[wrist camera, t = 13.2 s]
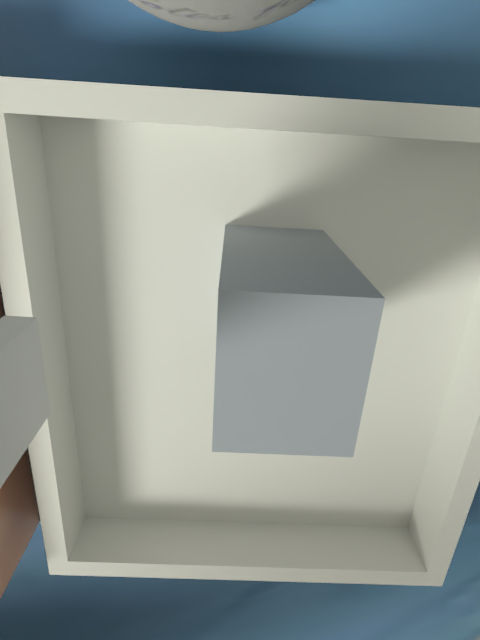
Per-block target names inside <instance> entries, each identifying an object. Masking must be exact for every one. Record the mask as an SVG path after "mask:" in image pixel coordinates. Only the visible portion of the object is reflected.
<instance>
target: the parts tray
mask: <svg viewBox="0 0 480 640" xmlns="http://www.w3.org/2000/svg"><path fill="white" fill-rule="evenodd" d="M225 225H241V226H259V227H277V228H295V229H313V230H324V232H325V233H326V234H327V235H328V236H329V237H330V238H331V239H332V240H333V242H334V243H335V244H336V245H337V246H338V247H339V248H340V249H341V250H342V251H343V253H344V254H345V255H346V256H347V257H348V258H349V259H350V260H351V261H352V262H353V264H354V265H355V266H356V267H357V268H358V269H359V270H360V271H361V272H362V273H363V275H364V276H365V277H366V278H367V279H368V280H369V281H370V282H371V283H372V284H373V286H374V287H375V288H376V289H377V290H378V291H379V292H380V293H381V294H382V296H383V297H384V298H385V302H384V307H383V312H382V317H381V322H380V327H379V332H378V337H377V342H376V347H375V352H374V357H373V362H372V366H371V371H370V376H369V381H368V386H367V391H366V396H365V401H364V406H363V411H362V416H361V421H360V426H359V431H358V436H357V441H356V446H355V451H354V456H353V457H333V456H307V455H282V454H256V453H230V452H212V436H213V411H214V386H215V360H216V335H217V309H218V288H219V279H220V269H221V260H222V251H223V242H224V233H225ZM0 285H1V291H2V297H3V303H4V309H5V315H6V316H21V317H37V322H38V329H39V336H40V343H41V350H42V356H43V363H44V370H45V377H46V384H47V391H48V398H49V405H50V412H51V413H50V415H49V416H48V418H47V419H46V421H45V422H44V424H43V425H42V427H41V428H40V430H39V431H38V433H37V434H36V436H35V437H34V439H33V440H32V442H31V443H30V445H29V446H28V450H29V456H30V462H31V468H32V474H33V480H34V486H35V492H36V498H37V503H38V509H39V515H40V521H41V527H42V533H43V539H44V545H45V551H46V556H47V562H48V568H49V574H50V575H75V576H109V577H144V578H178V579H212V580H246V581H280V582H314V583H348V584H382V585H416V586H442V585H443V582H444V579H445V577H446V574H447V571H448V568H449V565H450V563H451V560H452V557H453V554H454V551H455V549H456V546H457V543H458V540H459V537H460V534H461V532H462V529H463V526H464V523H465V520H466V518H467V515H468V512H469V509H470V506H471V504H472V501H473V498H474V495H475V492H476V490H477V487H478V484H479V481H480V107H464V106H449V105H434V104H418V103H403V102H387V101H372V100H357V99H341V98H326V97H311V96H295V95H280V94H264V93H249V92H234V91H218V90H203V89H188V88H172V87H157V86H142V85H126V84H111V83H95V82H80V81H65V80H49V79H34V78H19V77H3V76H0Z"/></svg>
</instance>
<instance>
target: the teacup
mask: <svg viewBox="0 0 480 640" xmlns="http://www.w3.org/2000/svg"><path fill="white" fill-rule="evenodd" d="M128 1H130V2H131V3H133V4H134V5H136V6H138V7H139V8H141V9H142V10H144V11H146V12H148V13H150V14H152V15H154V16H156V17H158V18H160V19H163V20H166V21H168V22H171V23H174V24H177V25H180V26H183V27H187V28H191V29H196V30H202V31H213V32H232V31H241V30H248V29H254V28H257V27H261V26H264V25H268V24H271V23H274V22H276V21H278V20H281V19H283V18H285V17H288V16H290V15H292V14H294V13H296V12H298V11H299V10H301V9H303V8H304V7H306V6H307V5H309V4H310V3H312V2H313V1H315V0H128Z"/></svg>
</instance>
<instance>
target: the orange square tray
mask: <svg viewBox="0 0 480 640" xmlns="http://www.w3.org/2000/svg"><path fill="white" fill-rule="evenodd" d="M3 316H4V310H3V305H2V299H1V293H0V319H1V318H2V317H3ZM39 522H40V521H39V515H38V509H37V504H36V498H35V492H34V486H33V480H32V474H31V469H30V463H29V457H28V451H27V449H26V451H25V452H24V454H23V455H22V457H21V458H20V460H19V461H18V463H17V464H16V466H15V467H14V469H13V470H12V472H11V473H10V475H9V476H8V478H7V479H6V481H5V482H4V484H3V485H2V487H1V488H0V599H1V597H2V595H3V593H4V591H5V589H6V587H7V585H8V583H9V581H10V579H11V577H12V575H13V573H14V571H15V569H16V567H17V565H18V563H19V561H20V559H21V557H22V555H23V553H24V551H25V549H26V547H27V545H28V543H29V541H30V539H31V537H32V535H33V533H34V531H35V529H36V528H37V526H38V524H39Z"/></svg>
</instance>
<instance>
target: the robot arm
mask: <svg viewBox="0 0 480 640" xmlns="http://www.w3.org/2000/svg"><path fill="white" fill-rule="evenodd" d="M50 413H51V412H50V405H49V398H48V391H47V384H46V377H45V370H44V363H43V356H42V350H41V343H40V336H39V329H38V322H37V317H21V316H3V317H2V318H1V319H0V488H1V487H2V485H3V484H4V482H5V481H6V479H7V478H8V476H9V475H10V473H11V472H12V470H13V469H14V467H15V466H16V464H17V463H18V461H19V460H20V458H21V457H22V455H23V454H24V452H25V451H26V449H27V448H28V446H29V445H30V443H31V442H32V440H33V439H34V437H35V436H36V434H37V433H38V431H39V430H40V428H41V427H42V425H43V424H44V422H45V421H46V419H47V418H48V416H49V415H50Z"/></svg>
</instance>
